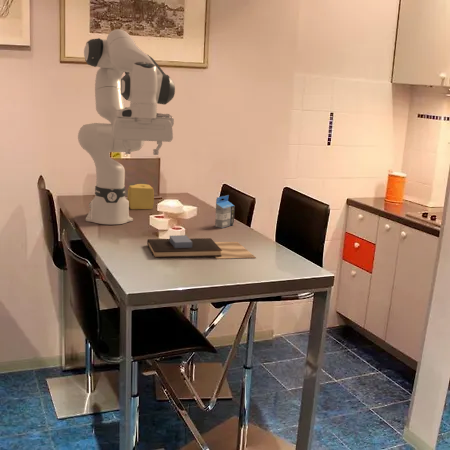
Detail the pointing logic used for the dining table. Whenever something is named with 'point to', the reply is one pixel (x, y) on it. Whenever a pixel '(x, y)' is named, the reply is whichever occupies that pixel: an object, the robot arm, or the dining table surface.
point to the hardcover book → (199, 248)
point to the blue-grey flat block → (180, 241)
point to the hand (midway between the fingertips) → (141, 154)
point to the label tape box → (224, 212)
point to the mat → (233, 251)
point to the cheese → (140, 196)
